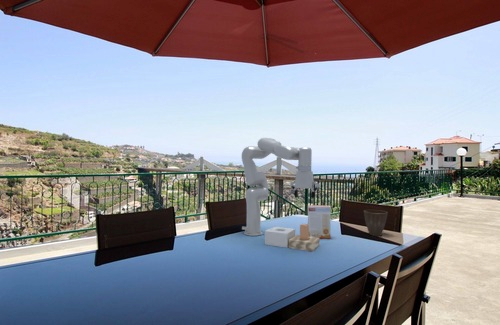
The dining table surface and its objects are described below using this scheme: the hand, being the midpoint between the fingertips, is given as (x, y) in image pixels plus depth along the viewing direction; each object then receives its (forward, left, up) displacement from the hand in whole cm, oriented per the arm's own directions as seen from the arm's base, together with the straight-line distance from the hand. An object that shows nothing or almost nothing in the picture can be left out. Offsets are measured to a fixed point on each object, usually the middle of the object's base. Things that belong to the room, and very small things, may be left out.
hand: (304, 198), depth 169 cm
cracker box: (+2, +25, -29) cm, 38 cm away
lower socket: (0, 0, -28) cm, 28 cm away
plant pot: (+34, +52, -29) cm, 68 cm away
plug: (0, 0, -27) cm, 27 cm away
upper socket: (-15, 0, -28) cm, 32 cm away
